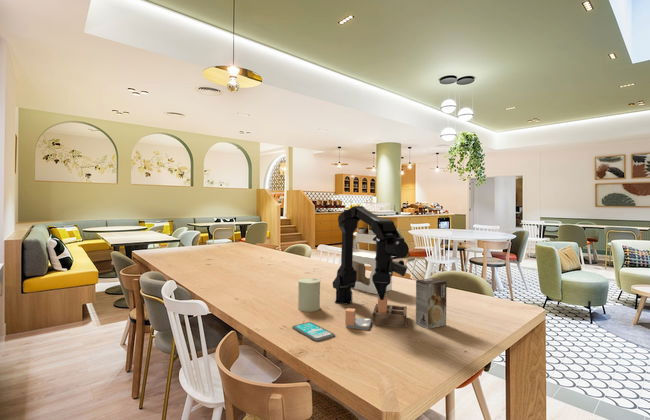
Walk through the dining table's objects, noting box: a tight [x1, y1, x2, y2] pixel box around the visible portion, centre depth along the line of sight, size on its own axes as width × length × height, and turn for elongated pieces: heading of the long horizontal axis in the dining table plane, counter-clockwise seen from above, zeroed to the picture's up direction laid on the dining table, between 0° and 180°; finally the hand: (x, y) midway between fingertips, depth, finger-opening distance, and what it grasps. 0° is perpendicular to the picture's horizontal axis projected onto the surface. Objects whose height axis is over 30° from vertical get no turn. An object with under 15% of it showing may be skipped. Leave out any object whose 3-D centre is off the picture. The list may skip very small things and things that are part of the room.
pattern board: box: [344, 307, 373, 331], centre depth 118 cm, size 8×8×6 cm
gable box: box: [352, 233, 393, 295], centre depth 171 cm, size 22×13×28 cm, turn 43°
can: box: [297, 277, 321, 313], centre depth 136 cm, size 9×9×12 cm
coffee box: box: [415, 277, 447, 330], centre depth 119 cm, size 9×6×16 cm
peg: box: [377, 296, 388, 314], centre depth 121 cm, size 3×3×8 cm
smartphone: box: [292, 321, 336, 343], centre depth 111 cm, size 9×1×15 cm
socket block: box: [372, 303, 408, 328], centre depth 123 cm, size 12×12×4 cm
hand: (383, 296), depth 121 cm, fingers open, 9 cm apart
